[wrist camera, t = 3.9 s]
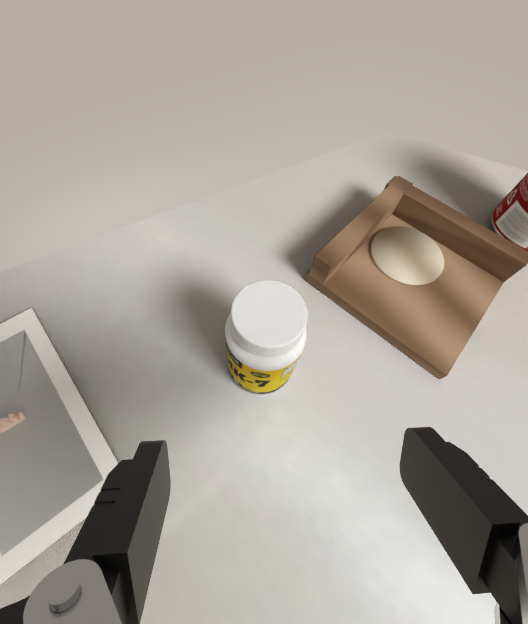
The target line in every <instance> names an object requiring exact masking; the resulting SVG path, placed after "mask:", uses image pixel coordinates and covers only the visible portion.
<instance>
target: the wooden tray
mask: <svg viewBox="0 0 528 624" xmlns="http://www.w3.org/2000/svg"><path fill="white" fill-rule="evenodd" d="M412 185H413V184H412V183H411V182H409V181H407V180H405V179H404V178H402V177H400V176H398V177H396V176H395V177H394V178H392V179H391V180H390V181H389V182H388V183H387V185H386V187H385V189H384V191H383V192H382V193H381V194H380V195H378V196H377V197H376V198H375V199H374V200H373V201H372V202H371V203H370V204H369V205H368V206H367V207H366V208H365V209H364V210H363V211H362V212H361V213H360V214H359V215H357V216H356V217H355V218H354V219H353V220H352V221H351V222H350V223H349V224H348V225H347V226H346V227H345V228H344V229H343V230H342V231H341V232H340V233H339V234H337V235H336V236H335V237H334V238H333V239H332V240H331V241H330V242H329V243H328V244H327V245H326V246H325V247H324V248H323V249H322V250H321V251H320V252H319V253H317V254H316V255H315V258H314V261H313V264H312V267H311V269H310V270H309V271H308V272H307V273H306V276H305V279H304V280H306V281H307V282H308V283H310V284H311V285H312V286H314V287H315V288H316V289H318V290H319V291H321V292H322V293H323V294H325V295H326V296H327V297H329V298H330V299H331V300H333V301H334V302H335V303H337V304H338V305H339V306H341V307H342V308H344V309H345V310H346V311H348V312H349V313H350V314H352V315H353V316H354V317H356V318H357V319H358V320H360V321H361V322H362V323H364V324H365V325H367V326H368V327H369V328H371V329H372V330H373V331H375V332H376V333H377V334H379V335H380V336H381V337H383V338H384V339H385V340H387V341H388V342H390V343H391V344H392V345H394V346H395V347H396V348H398V349H399V350H400V351H402V352H403V353H404V354H406V355H407V356H408V357H410V358H411V359H413V360H414V361H415V362H417V363H418V364H419V365H421V366H422V367H423V368H425V369H426V370H427V371H429V372H430V373H431V374H433V375H434V376H435V377H437V378H438V379H441V378H443V377H445V376H447V375H448V373H449V372H450V370H451V368H452V367H453V365H454V363H455V362H456V360H457V358H458V357H459V355H460V353H461V352H462V350H463V348H464V347H465V345H466V343H467V342H468V340H469V339H470V337H471V335H472V334H473V332H474V330H475V329H476V327H477V325H478V324H479V322H480V320H481V319H482V317H483V315H484V314H485V312H486V310H487V309H488V307H489V306H490V304H491V302H492V301H493V299H494V297H495V296H496V294H497V292H498V291H499V289H500V287H501V286H502V284H503V282H505V281H506V280H507V279H508V278H510V277H511V276H512V275H514V274H515V273H516V272H518V271H519V270H520V269H522V268H523V267H524V266H525V265H527V263H528V251H527V250H525V249H523V248H521V247H520V246H518V245H516V244H514V243H512V242H511V241H509V240H507V239H505V238H504V237H502V236H500V235H498V234H497V233H495V232H493V231H491V230H490V229H488V228H486V227H484V226H483V225H481V224H479V223H477V222H476V221H474V220H472V219H470V218H468V217H467V216H465V215H463V214H461V213H460V212H458V211H456V210H454V209H453V208H451V207H449V206H447V205H446V204H444V203H442V202H440V201H439V200H437V199H435V198H433V197H432V196H430V195H428V194H426V193H425V192H423V191H421V190H419V189H417V188H416V187H414V186H412Z"/></svg>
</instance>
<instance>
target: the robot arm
mask: <svg viewBox="0 0 528 624" xmlns="http://www.w3.org/2000/svg"><path fill="white" fill-rule="evenodd" d="M400 474H401V478H402V481H403V483H404V485H405V487H406V489H407V490H408V492H409V493H410V495H411V496H412V498H413V500H414V501H415V503H416V504H417V506H418V508H419V509H420V511H421V512H422V514H423V516H424V517H425V519H426V520H427V522H428V524H429V525H430V527H431V528H432V530H433V531H434V533H435V535H436V536H437V538H438V539H439V541H440V543H441V544H442V546H443V547H444V549H445V551H446V552H447V554H448V555H449V557H450V559H451V560H452V562H453V563H454V565H455V566H456V568H457V570H458V571H459V573H460V574H461V576H462V578H463V579H464V581H465V582H466V584H467V586H468V587H469V589H470V590H471V592H472V594H480V593H490V592H491V594H492V595H493V597H494V598H495V600H496V601H497V603H496V606H495V624H528V516H527V515H526V513H525V512H524V511H523V510H522V509H521V508H520V507H519V506H518V505H517V504H516V503H515V502H514V501H513V500H512V499H511V498H510V497H509V496H508V495H507V494H506V493H505V492H504V491H503V490H502V489H501V488H500V487H499V486H498V485H497V484H496V483H495V482H494V481H493V480H491V479H490V478H489V476H488V475H487V474H486V473H485V471H484V470H483V469H482V468H479V465H478V464H477V463H476V462H475V461H474V460H473V459H472V458H471V457H470V456H469V455H468V454H467V453H466V452H464V451H463V450H461V449H460V448H458V447H456V446H455V445H453V444H452V443H450V442H445V441H444V440H443V438H442V437H441V436H440V435H439V434H438V433H437V432H436V431H435V430H434V429H433V428H431V427H420V428H408V429H406V431H405V434H404V441H403V447H402V453H401V460H400ZM169 495H170V471H169V461H168V451H167V443H166V441H165V440H161V441H142V442H141V443H140V444H139V446H138V449H137V451H136V453H135V456H134V458H133V459H132V460H121V461H120V462H119V463H118V464H117V465H116V466H115V467H114V468H113V469H112V470H111V471H110V472H109V473H108V475H107V477H106V480H105V482H104V484H103V486H102V488H101V492H99V494H98V496H97V498H96V500H95V502H94V506H92V508H91V510H90V512H89V514H88V516H87V518H86V520H85V522H84V524H83V526H82V528H81V530H80V532H79V534H78V536H77V538H76V540H75V542H74V544H73V546H72V548H71V550H70V552H69V554H68V556H67V558H66V560H65V562H64V564H63V565H62V566H60V567H58V568H56V569H55V570H54V571H52V572H51V573H50V574H48V575H47V576H46V577H45V578H44V579H43V580H42V581H41V582H40V583H39V584H38V585H37V587H36V588H35V589H34V591H33V592H32V594H31V595H30V596H28V597H27V598H25V599H23V600H21V601H18V602H16V603H14V604H11V605H9V606H6V607H4V608H1V609H0V624H140V620H141V616H142V612H143V608H144V603H145V599H146V595H147V591H148V586H149V582H150V578H151V574H152V569H153V565H154V561H155V557H156V552H157V548H158V544H159V540H160V535H161V531H162V527H163V523H164V518H165V514H166V510H167V506H168V501H169Z"/></svg>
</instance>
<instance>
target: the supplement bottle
mask: <svg viewBox="0 0 528 624" xmlns="http://www.w3.org/2000/svg"><path fill="white" fill-rule="evenodd" d="M306 323H307V308H306V305H305V302H304V300H303V298H302V297H301V296H300V294H299V293H298V292H297V291H296V290H295V289H293V288H292V287H290V286H289V285H287V284H285V283H282V282H279V281H275V280H260V281H256V282H253V283H250V284H248V285H247V286H245V287H244V288H243V289H241V290H240V291H239V292H238V294H237V295H236V296H235V298H234V300H233V303H232V306H231V313H230V314H229V316H228V318H227V321H226V325H225V342H226V352H227V362H228V369H229V373H230V375H231V377H232V379H233V381H234V382H235V383H236V384H237V385H238V386H239V387H240V388H241V389H243V390H244V391H246V392H249V393H252V394H256V395H266V394H271V393H273V392H275V391H277V390H279V389H280V388H282V387H283V386H284V385H285V383H286V382H287V381H288V379H289V377H290V375H291V373H292V371H293V369H294V367H295V365H296V363H297V362H298V360H299V357H300V355H301V353H302V351H303V349H304V347H305V343H306Z"/></svg>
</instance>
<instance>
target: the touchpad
mask: <svg viewBox="0 0 528 624" xmlns="http://www.w3.org/2000/svg"><path fill="white" fill-rule="evenodd" d="M117 464H118V462H117V460H116V458H115V457H114V455H113V453H112V451H111V449H110V448H109V446H108V444H107V442H106V440H105V439H104V437H103V435H102V433H101V431H100V430H99V428H98V426H97V424H96V422H95V421H94V419H93V417H92V415H91V413H90V412H89V410H88V408H87V406H86V404H85V403H84V401H83V399H82V397H81V395H80V394H79V392H78V390H77V388H76V387H75V385H74V383H73V381H72V379H71V378H70V376H69V374H68V372H67V370H66V369H65V367H64V365H63V363H62V361H61V360H60V358H59V356H58V354H57V352H56V351H55V349H54V347H53V345H52V343H51V342H50V340H49V338H48V336H47V334H46V333H45V331H44V329H43V327H42V325H41V324H40V322H39V320H38V318H37V316H36V315H35V313H34V311H33V309H32V308H30V309H28V310H26V311H24V312H22V313H20V314H18V315H17V316H15V317H13V318H11V319H9V320H7V321H5V322H3V323H1V324H0V584H2V583H3V582H4V581H5V580H7V579H8V578H9V577H11V576H12V575H13V574H14V573H16V572H17V571H18V570H19V569H21V568H22V567H23V566H25V565H26V564H27V563H28V562H30V561H31V560H32V559H34V558H35V557H36V556H37V555H39V554H40V553H41V552H43V551H44V550H45V549H46V548H48V547H49V546H50V545H51V544H53V543H54V542H55V541H57V540H58V539H59V538H60V537H62V536H63V535H64V534H66V533H67V532H68V531H69V530H71V529H72V528H73V527H74V526H76V525H77V524H78V523H80V522H81V521H82V520H83V519H85V518H86V517H87V516H88V514H89V512H90V510H91V508H92V506H94V502H95V500H96V498H97V496H98V494H99V492H101V488H102V486H103V484H104V482H105V480H106V477H107V475H108V473H109V472H110V471H111V470H112V469H113V468H114V467H115V466H116V465H117Z"/></svg>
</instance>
